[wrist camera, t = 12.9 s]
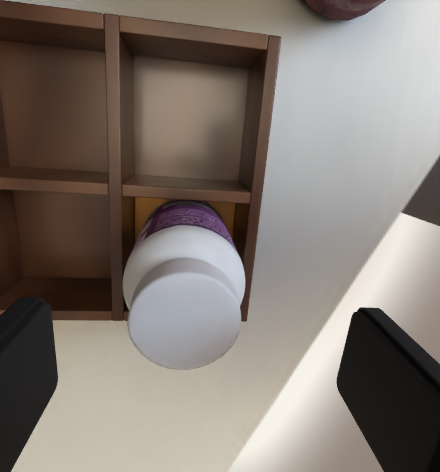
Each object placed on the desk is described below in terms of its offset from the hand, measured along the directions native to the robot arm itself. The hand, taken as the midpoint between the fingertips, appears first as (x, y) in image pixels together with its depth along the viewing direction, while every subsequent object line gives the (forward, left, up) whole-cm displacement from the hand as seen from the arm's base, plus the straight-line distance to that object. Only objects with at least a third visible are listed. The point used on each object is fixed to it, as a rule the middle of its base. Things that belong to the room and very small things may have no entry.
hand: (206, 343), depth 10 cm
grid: (+4, -3, -12) cm, 13 cm away
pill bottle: (+1, 0, -11) cm, 11 cm away
